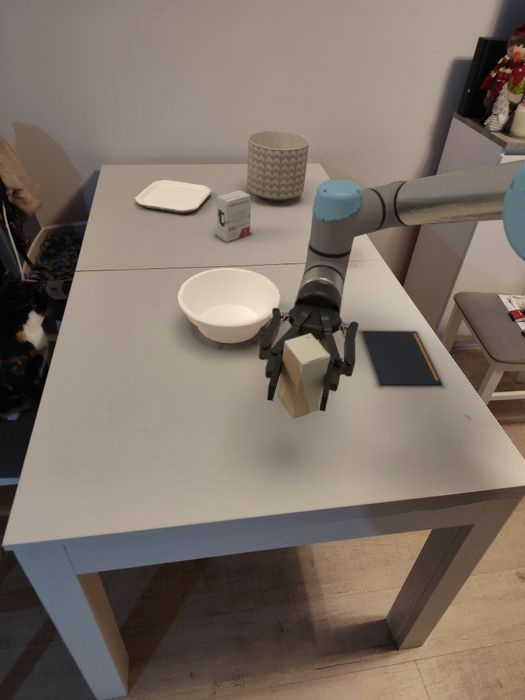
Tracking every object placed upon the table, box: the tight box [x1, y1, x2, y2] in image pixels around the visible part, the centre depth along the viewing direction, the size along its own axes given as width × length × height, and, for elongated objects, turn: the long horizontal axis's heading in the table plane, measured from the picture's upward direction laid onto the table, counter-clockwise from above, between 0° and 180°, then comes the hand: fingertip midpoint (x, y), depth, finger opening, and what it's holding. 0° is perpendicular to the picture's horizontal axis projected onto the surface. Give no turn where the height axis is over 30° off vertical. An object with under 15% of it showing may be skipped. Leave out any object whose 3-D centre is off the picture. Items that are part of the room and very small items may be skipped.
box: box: [276, 333, 330, 420], centre depth 61 cm, size 5×4×11 cm
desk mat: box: [362, 330, 443, 386], centre depth 91 cm, size 16×12×1 cm
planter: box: [246, 130, 310, 202], centre depth 145 cm, size 19×19×18 cm
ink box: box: [216, 189, 252, 243], centre depth 124 cm, size 9×5×12 cm, turn 130°
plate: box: [134, 179, 213, 214], centre depth 143 cm, size 21×21×2 cm
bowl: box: [177, 267, 282, 344], centre depth 94 cm, size 21×21×8 cm
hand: (296, 398), depth 57 cm, fingers closed on box, 6 cm apart
